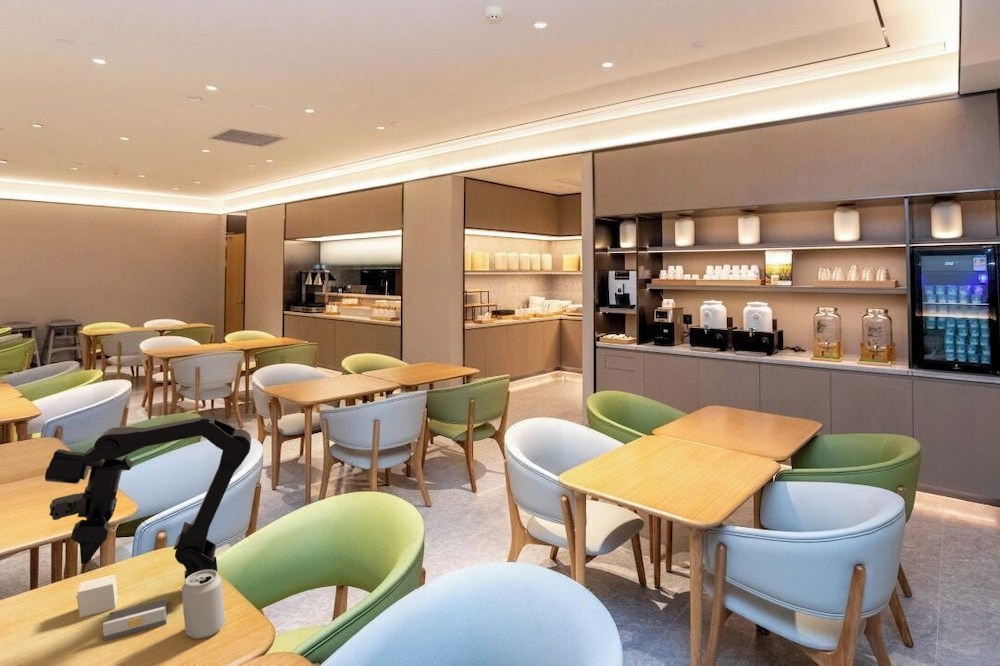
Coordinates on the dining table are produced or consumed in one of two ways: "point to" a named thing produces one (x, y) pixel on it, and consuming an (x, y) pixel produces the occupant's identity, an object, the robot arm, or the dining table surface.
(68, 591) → the dining table surface
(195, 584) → the can
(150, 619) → the grey drawer
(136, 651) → the dining table surface
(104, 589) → the carton
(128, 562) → the dining table surface
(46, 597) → the dining table surface
